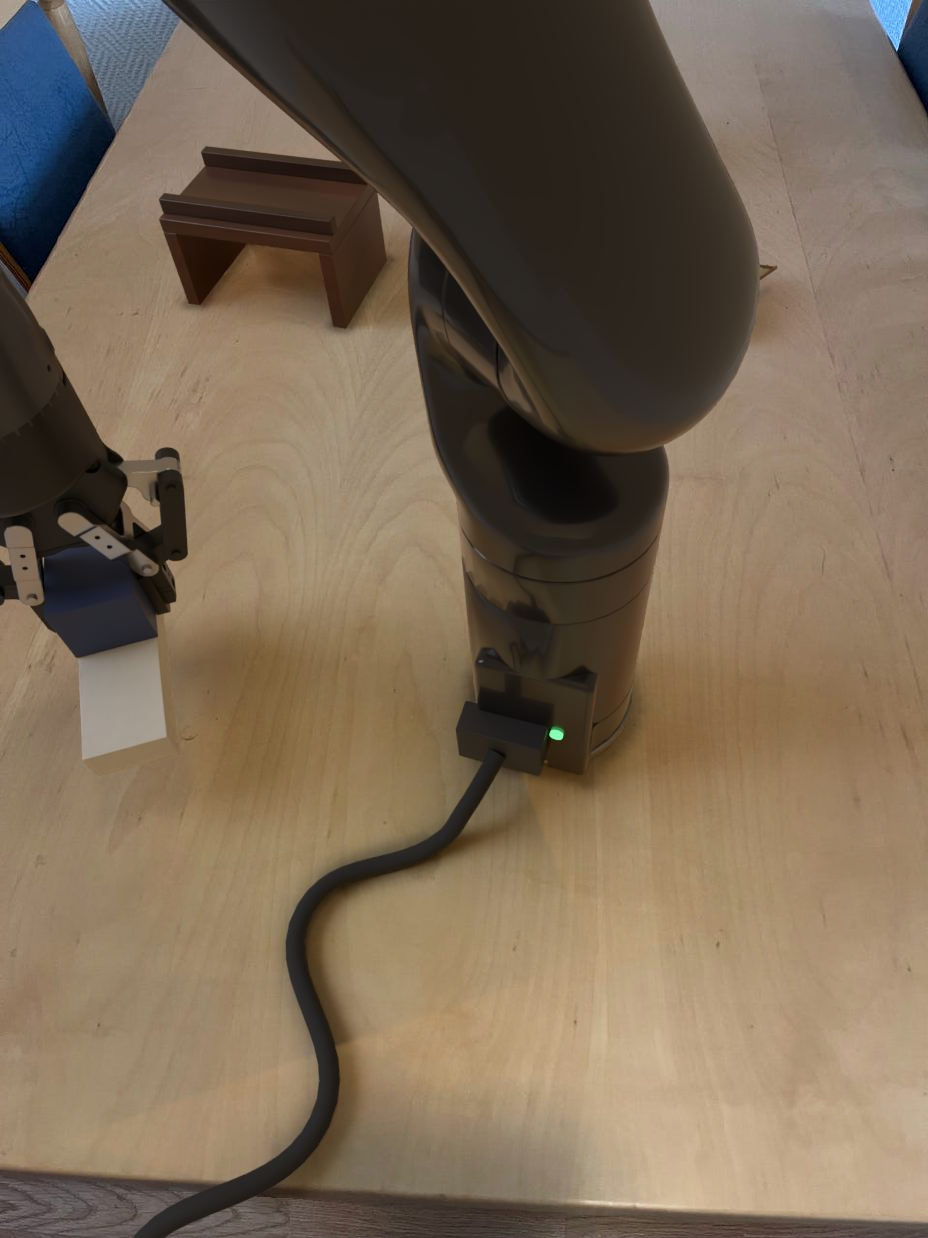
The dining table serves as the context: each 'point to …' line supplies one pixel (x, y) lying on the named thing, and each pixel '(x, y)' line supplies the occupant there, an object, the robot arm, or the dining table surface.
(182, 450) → the dining table surface
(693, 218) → the robot arm
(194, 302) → the shoe shelf
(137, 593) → the shoe
